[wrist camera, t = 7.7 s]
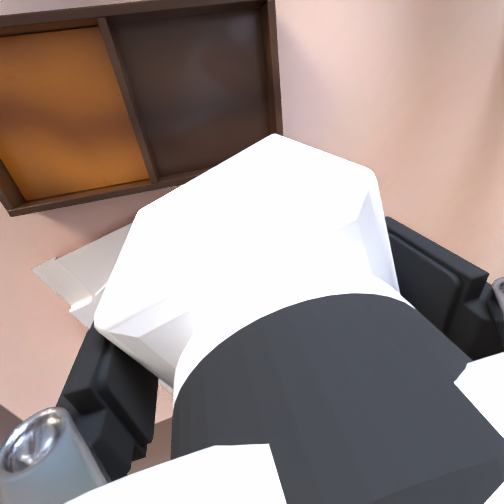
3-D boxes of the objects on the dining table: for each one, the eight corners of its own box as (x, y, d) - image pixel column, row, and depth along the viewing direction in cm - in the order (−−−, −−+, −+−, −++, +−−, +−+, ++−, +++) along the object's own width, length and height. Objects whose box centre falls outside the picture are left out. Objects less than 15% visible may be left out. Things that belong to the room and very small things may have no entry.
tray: (171, 394, 43) (170, 417, 39) (33, 265, 29) (13, 284, 26) (285, 340, 42) (293, 358, 39) (201, 182, 28) (202, 191, 25)
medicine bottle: (134, 210, 12) (-202, 949, 2) (276, 129, 11) (1089, 392, 1) (215, 309, 15) (274, 708, 5) (323, 251, 15) (609, 561, 5)
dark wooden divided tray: (-78, 36, 18) (-115, 26, 16) (264, -1, 21) (274, -13, 19) (26, 206, 25) (10, 217, 23) (276, 159, 28) (285, 165, 26)
